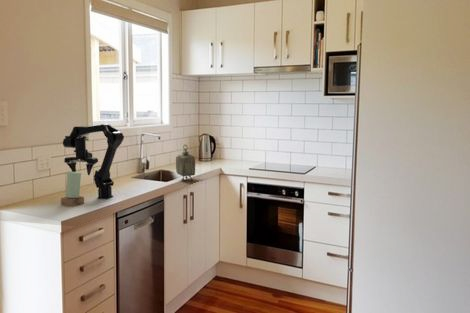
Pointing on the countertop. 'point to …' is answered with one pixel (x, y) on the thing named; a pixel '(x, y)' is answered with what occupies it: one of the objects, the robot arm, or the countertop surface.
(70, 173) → the sage green block
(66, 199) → the walnut block
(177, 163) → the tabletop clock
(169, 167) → the countertop surface
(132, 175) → the countertop surface
